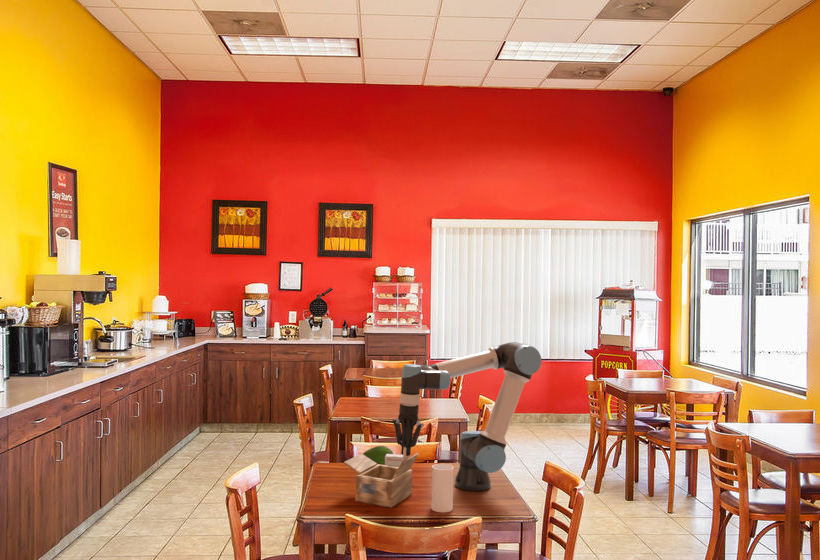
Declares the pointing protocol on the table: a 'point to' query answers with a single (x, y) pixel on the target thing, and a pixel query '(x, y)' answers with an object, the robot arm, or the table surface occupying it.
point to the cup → (442, 488)
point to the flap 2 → (405, 465)
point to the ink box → (393, 460)
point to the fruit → (378, 454)
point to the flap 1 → (360, 463)
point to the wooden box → (383, 486)
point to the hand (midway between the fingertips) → (405, 463)
